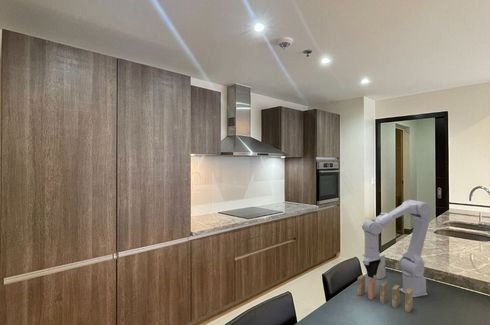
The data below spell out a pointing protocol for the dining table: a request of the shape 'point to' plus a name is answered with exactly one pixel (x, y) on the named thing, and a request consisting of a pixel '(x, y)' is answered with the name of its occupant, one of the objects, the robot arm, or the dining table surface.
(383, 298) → the domino
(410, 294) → the domino
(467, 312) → the dining table surface
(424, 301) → the dining table surface
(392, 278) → the dining table surface
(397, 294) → the domino
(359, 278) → the domino
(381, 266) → the skincare box
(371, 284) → the domino
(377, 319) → the dining table surface
